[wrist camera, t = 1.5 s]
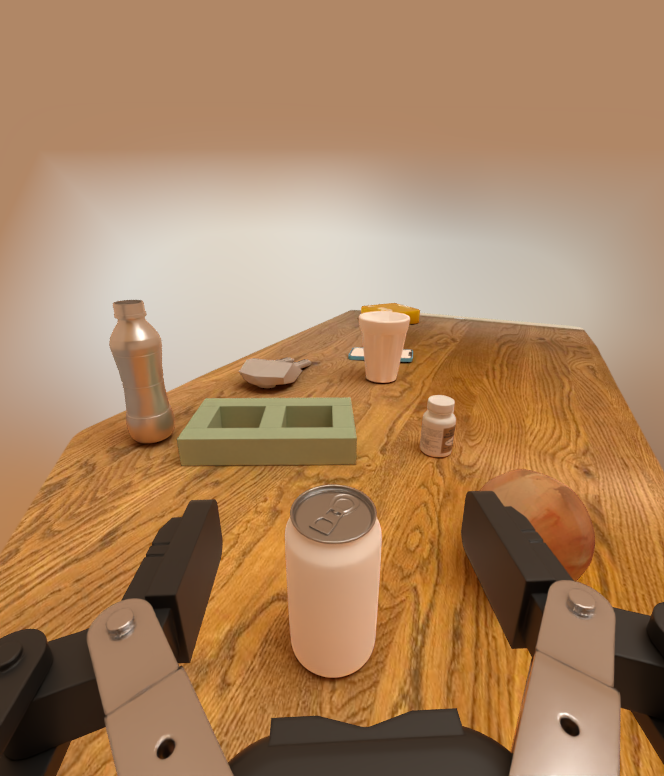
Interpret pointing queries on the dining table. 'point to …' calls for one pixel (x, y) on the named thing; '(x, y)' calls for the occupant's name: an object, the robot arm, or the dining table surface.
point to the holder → (270, 432)
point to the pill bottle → (438, 427)
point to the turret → (272, 371)
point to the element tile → (394, 310)
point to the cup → (383, 343)
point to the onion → (550, 515)
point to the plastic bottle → (141, 373)
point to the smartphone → (359, 354)
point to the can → (333, 578)
